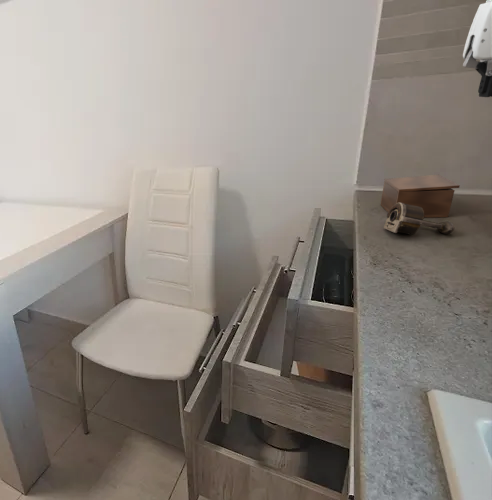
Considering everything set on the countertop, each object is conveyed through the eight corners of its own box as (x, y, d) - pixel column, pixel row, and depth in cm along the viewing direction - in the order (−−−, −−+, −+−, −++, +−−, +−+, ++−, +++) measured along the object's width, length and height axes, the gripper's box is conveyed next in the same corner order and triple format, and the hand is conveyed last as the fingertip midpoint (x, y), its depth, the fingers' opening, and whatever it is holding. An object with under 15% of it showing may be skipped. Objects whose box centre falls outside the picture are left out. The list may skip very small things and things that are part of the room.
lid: (438, 177, 94) (438, 174, 94) (459, 187, 85) (459, 185, 85) (384, 180, 98) (384, 178, 98) (398, 191, 89) (399, 189, 88)
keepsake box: (428, 203, 98) (434, 179, 95) (448, 217, 88) (454, 190, 86) (380, 205, 101) (384, 181, 98) (394, 218, 91) (398, 192, 89)
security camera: (386, 200, 88) (383, 203, 80) (456, 199, 80) (460, 203, 73) (384, 230, 89) (381, 236, 81) (453, 232, 82) (456, 239, 74)
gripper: (550, -13, 70) (520, 91, 77) (456, 0, 73) (436, 99, 81) (582, -22, 63) (545, 93, 70) (477, -7, 67) (453, 101, 74)
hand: (487, 96), depth 76 cm, fingers closed
